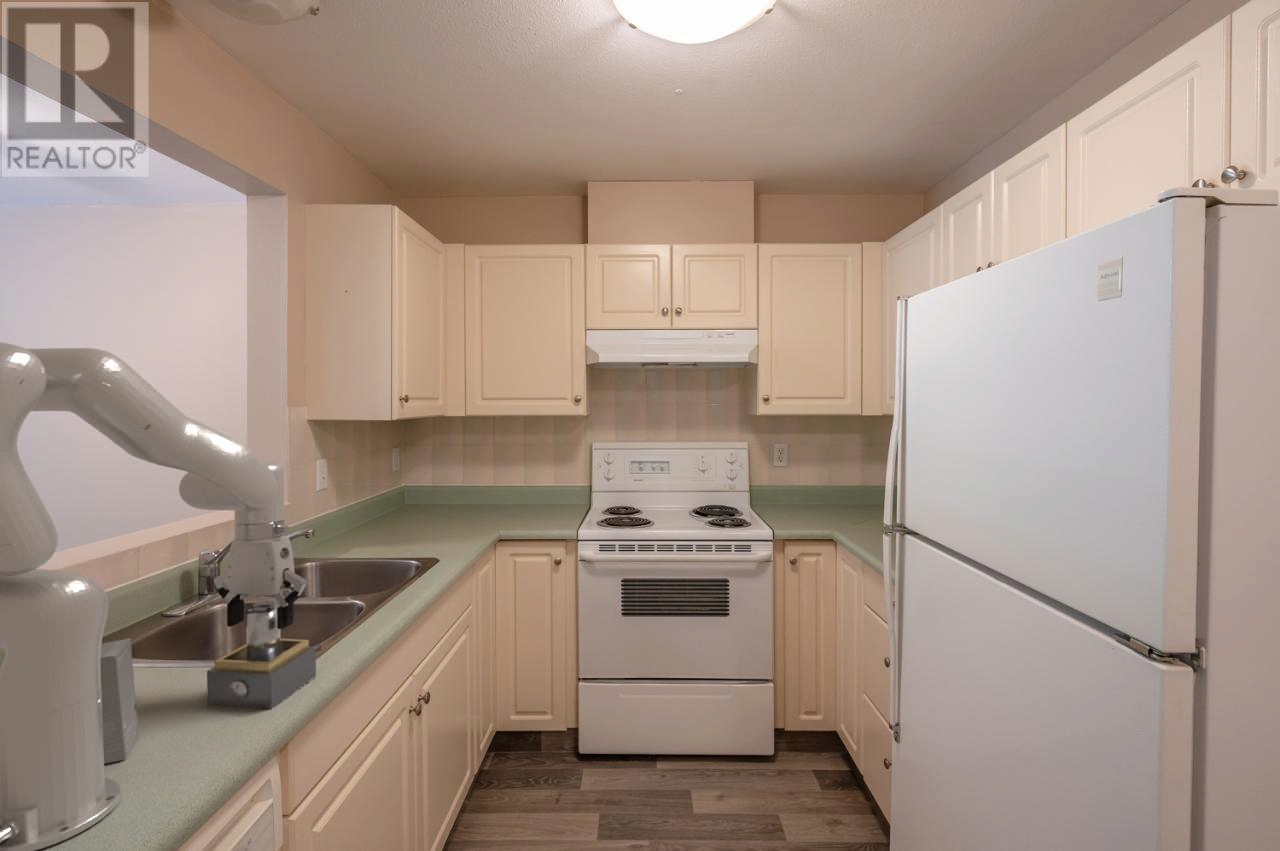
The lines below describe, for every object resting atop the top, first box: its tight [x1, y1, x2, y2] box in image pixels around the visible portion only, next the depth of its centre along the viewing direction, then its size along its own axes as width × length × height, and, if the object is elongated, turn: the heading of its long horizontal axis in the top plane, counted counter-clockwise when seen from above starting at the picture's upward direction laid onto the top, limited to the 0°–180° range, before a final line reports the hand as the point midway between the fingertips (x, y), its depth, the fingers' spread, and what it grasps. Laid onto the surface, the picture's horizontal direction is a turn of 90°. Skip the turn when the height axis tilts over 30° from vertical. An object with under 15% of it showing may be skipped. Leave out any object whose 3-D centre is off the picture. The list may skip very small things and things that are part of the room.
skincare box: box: [100, 637, 139, 765], centre depth 87 cm, size 8×7×16 cm
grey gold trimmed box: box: [206, 638, 317, 710], centre depth 106 cm, size 12×12×8 cm
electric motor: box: [245, 600, 282, 662], centre depth 106 cm, size 6×5×10 cm
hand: (260, 625), depth 105 cm, fingers open, 9 cm apart
